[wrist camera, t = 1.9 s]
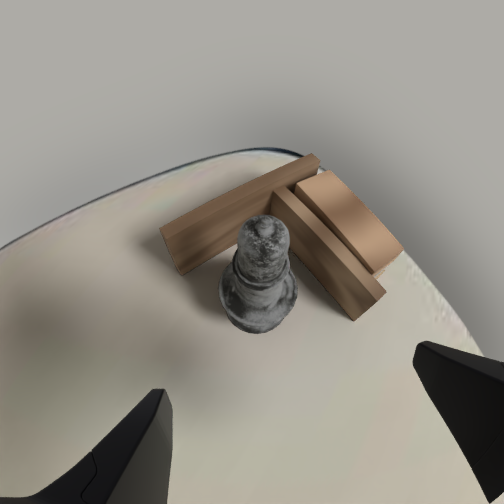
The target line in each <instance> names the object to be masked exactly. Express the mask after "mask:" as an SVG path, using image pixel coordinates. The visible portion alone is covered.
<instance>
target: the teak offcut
mask: <svg viewBox="0 0 504 504" xmlns="http://www.w3.org/2000/svg"><path fill="white" fill-rule="evenodd" d="M294 195H295V196H296V197H297V198H298V199H299V200H300V201H301V202H302V203H303V204H304V205H305V206H306V207H307V208H308V209H309V210H310V211H311V212H312V213H313V214H314V215H315V216H316V217H317V218H318V219H319V220H320V221H321V222H322V223H323V224H324V225H325V226H326V227H327V228H328V229H329V230H330V231H331V232H332V233H333V234H334V235H335V236H336V237H337V238H338V239H339V240H340V241H341V242H342V243H343V244H344V245H345V246H346V248H347V249H348V250H349V251H350V252H351V253H352V254H353V255H354V256H355V257H356V258H357V259H358V260H359V261H360V262H361V264H362V265H363V266H364V267H365V268H366V269H367V270H368V271H369V272H370V273H371V275H372V276H373V277H374V276H375V275H376V274H378V273H379V272H380V271H381V270H383V269H384V268H385V267H386V266H388V265H389V264H390V263H391V262H393V261H394V260H395V259H396V258H397V256H398V255H399V254H400V253H401V252H402V251H403V249H404V248H403V247H402V245H401V244H400V243H399V242H398V241H397V240H396V238H395V237H394V236H393V235H392V234H391V233H390V232H389V230H388V229H387V228H386V227H385V226H384V225H383V224H382V223H381V222H380V220H379V219H378V218H377V217H376V216H375V215H374V214H373V213H372V212H371V211H370V210H369V209H368V208H367V207H366V206H365V204H364V203H363V202H362V201H361V200H360V199H359V198H358V197H357V196H356V195H355V194H354V193H353V192H352V191H351V190H350V189H349V188H348V187H347V186H346V185H345V184H344V183H343V182H342V181H341V180H339V179H338V178H337V177H336V176H335V175H334V174H333V173H332V172H331V171H330V170H328V171H325V172H323V173H320V174H318V175H315V176H313V177H310V178H308V179H305V180H303V181H301V182H298V183H296V187H295V192H294Z"/></svg>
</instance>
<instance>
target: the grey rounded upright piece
mask: <svg viewBox="0 0 504 504" xmlns="http://www.w3.org/2000/svg"><path fill="white" fill-rule="evenodd" d="M237 244H238V249H237V250H236V252H235V254H234V256H233V260H232V262H231V263H230V264H229V265H228V266H227V268H226V269H225V270H224V272H223V274H222V276H221V278H220V282H219V287H218V289H219V298H220V300H221V303H222V305H223V307H224V309H225V310H226V312H227V314H228V317H229V319H230V320H231V321H232V323H233V324H234V325H235V326H236V327H238V328H239V329H240V330H243V331H245V332H248V333H254V334H259V333H266V332H268V331H270V330H273V329H274V328H275V327H277V326H278V325H279V324H280V323H281V321H282V320H283V319H284V317H285V316H287V315H288V313H289V312H290V311H291V309H292V308H293V307H294V304H295V301H296V298H297V289H298V287H297V283H296V278H295V276H294V275H293V273H292V271H291V269H290V268H289V267H290V262H289V257H288V255H287V252H288V249H289V245H290V236H289V232H288V229H287V227H286V226H285V224H284V223H283V222H282V221H281V220H279V219H277V218H276V217H273V216H270V215H257V216H254V217H251V218H250V219H248V220H246V221H245V222H244V223H243V224H242V226H241V228H240V230H239V232H238V237H237Z"/></svg>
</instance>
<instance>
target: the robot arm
mask: <svg viewBox="0 0 504 504" xmlns="http://www.w3.org/2000/svg"><path fill="white" fill-rule="evenodd" d="M413 366H414V369H415V370H416V372H417V374H418V376H419V378H420V380H421V382H422V384H423V386H424V388H425V390H426V392H427V394H428V396H429V397H430V399H431V400H432V402H433V404H434V405H435V407H436V408H437V410H438V412H439V413H440V415H441V416H442V418H443V420H444V421H445V423H446V425H447V426H448V428H449V430H450V431H451V433H452V435H453V436H454V438H455V440H456V442H457V443H458V445H459V447H460V449H461V450H462V452H463V454H464V456H465V457H466V459H467V461H468V463H469V465H470V467H471V468H472V471H473V473H474V475H475V476H476V478H477V480H478V482H479V484H480V486H481V488H482V490H483V492H484V495H485V497H486V499H487V501H488V502H489V504H490V503H492V502H493V501H494V500H495V499H496V498H498V497H499V496H500V495H501V494H502V493H503V492H504V362H499V361H496V360H493V359H489V358H485V357H482V356H478V355H475V354H471V353H468V352H464V351H461V350H457V349H454V348H450V347H447V346H443V345H440V344H437V343H433V342H430V341H423V342H421V343H419V344H418V345H417V346H416V350H415V354H414V357H413ZM172 418H173V411H172V405H171V403H170V400H169V397H168V394H167V392H166V390H165V389H152V390H151V391H150V392H149V393H148V394H147V395H146V396H145V397H144V398H143V399H142V400H141V401H140V402H139V403H138V404H137V405H136V406H135V407H134V408H133V409H132V410H131V411H130V412H129V413H128V414H127V415H126V416H125V417H124V418H123V419H122V420H121V421H120V422H119V423H118V424H117V425H116V426H115V427H114V428H113V429H112V430H111V431H110V432H109V433H108V434H107V435H106V436H105V437H104V438H103V439H102V440H101V441H100V442H99V443H98V444H97V445H96V446H95V447H94V448H93V449H92V452H91V451H90V452H89V453H88V454H87V455H86V456H85V457H84V458H83V459H82V460H80V461H79V462H78V463H77V464H76V465H75V466H74V467H73V468H71V469H70V470H69V471H67V472H66V473H65V474H64V475H62V476H61V477H60V478H58V479H57V480H55V481H54V482H53V483H51V484H50V485H48V486H47V487H45V488H44V489H43V490H41V491H40V492H38V493H36V494H34V495H31V496H28V497H0V504H167V498H168V487H169V477H170V468H171V459H172V448H173V439H172Z"/></svg>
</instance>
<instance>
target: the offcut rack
mask: <svg viewBox="0 0 504 504" xmlns="http://www.w3.org/2000/svg"><path fill="white" fill-rule="evenodd" d="M319 163H320V160H319V159H318V158H317V157H316V156H314V155H313V154H312V153H311V154H309V155H307V156H304V157H302V158H300V159H297V160H295V161H293V162H291V163H288V164H286V165H284V166H282V167H279V168H277V169H275V170H273V171H271V172H269V173H266V174H264V175H262V176H260V177H258V178H256V179H254V180H252V181H250V182H248V183H245V184H243V185H241V186H239V187H237V188H235V189H233V190H231V191H229V192H227V193H225V194H223V195H221V196H219V197H217V198H215V199H213V200H211V201H209V202H208V203H206V204H204V205H202V206H200V207H198V208H196V209H194V210H192V211H190V212H189V213H187V214H185V215H183V216H181V217H179V218H177V219H176V220H174V221H172V222H170V223H168V224H167V225H165V226H163V227H161V228H159V229H160V231H161V234H162V236H163V239H164V241H165V243H166V245H167V248H168V250H169V252H170V255H171V257H172V259H173V261H174V263H175V266H176V267H177V269H178V271H179V272H180V274H181V275H184V274H185V273H187V272H189V271H190V270H192V269H194V268H195V267H197V266H199V265H200V264H202V263H204V262H206V261H207V260H209V259H211V258H212V257H214V256H216V255H217V254H219V253H221V252H223V251H224V250H226V249H228V248H229V247H231V246H233V245H235V244H236V243H237V237H238V232H239V230H240V228H241V226H242V224H243V223H244V222H245V221H246V220H248V219H250V218H251V217H254V216H257V215H270V216H273V217H276V218H277V219H279V220H281V221H282V222H283V223H284V224H285V226H286V227H287V229H288V232H289V236H290V245H289V248H290V249H291V250H292V251H293V252H294V253H295V254H296V255H297V257H298V258H299V259H300V260H301V261H302V262H303V263H304V264H305V266H306V267H307V268H308V269H309V270H310V271H311V272H312V274H313V275H314V276H315V277H316V278H317V279H318V280H319V281H320V283H321V284H322V285H323V286H324V287H325V288H326V290H327V291H328V292H329V293H330V294H331V295H332V296H333V298H334V299H335V300H336V301H337V302H338V303H339V305H340V306H341V307H342V308H343V309H344V310H345V312H346V313H347V314H348V315H349V316H350V318H351V319H352V320H353V321H355V320H356V319H357V318H359V317H360V316H361V315H362V314H363V313H364V312H366V311H367V310H368V309H369V308H370V307H371V306H373V305H374V304H375V303H376V302H377V301H378V300H379V299H380V298H381V297H382V296H383V295H384V294H385V293H386V290H385V289H384V288H383V287H382V286H381V285H380V284H379V282H378V281H377V280H376V279H375V278H374V277H373V276H372V275H371V273H370V272H369V271H368V270H367V269H366V268H365V267H364V266H363V265H362V264H361V262H360V261H359V260H358V259H357V258H356V257H355V256H354V255H353V254H352V253H351V252H350V251H349V250H348V249H347V248H346V246H345V245H344V244H343V243H342V242H341V241H340V240H339V239H338V238H337V237H336V236H335V235H334V234H333V233H332V232H331V231H330V230H329V229H328V228H327V227H326V226H325V225H324V224H323V223H322V222H321V221H320V220H319V219H318V218H317V217H316V216H315V215H314V214H313V213H312V212H311V211H310V210H309V209H308V208H307V207H306V206H305V205H304V204H303V203H302V202H301V201H300V200H299V199H298V198H297V197H296V196H295V195H294V192H295V187H296V183H298V182H301V181H303V180H305V179H308V178H310V177H313V176H315V175H317V171H318V167H319Z"/></svg>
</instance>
